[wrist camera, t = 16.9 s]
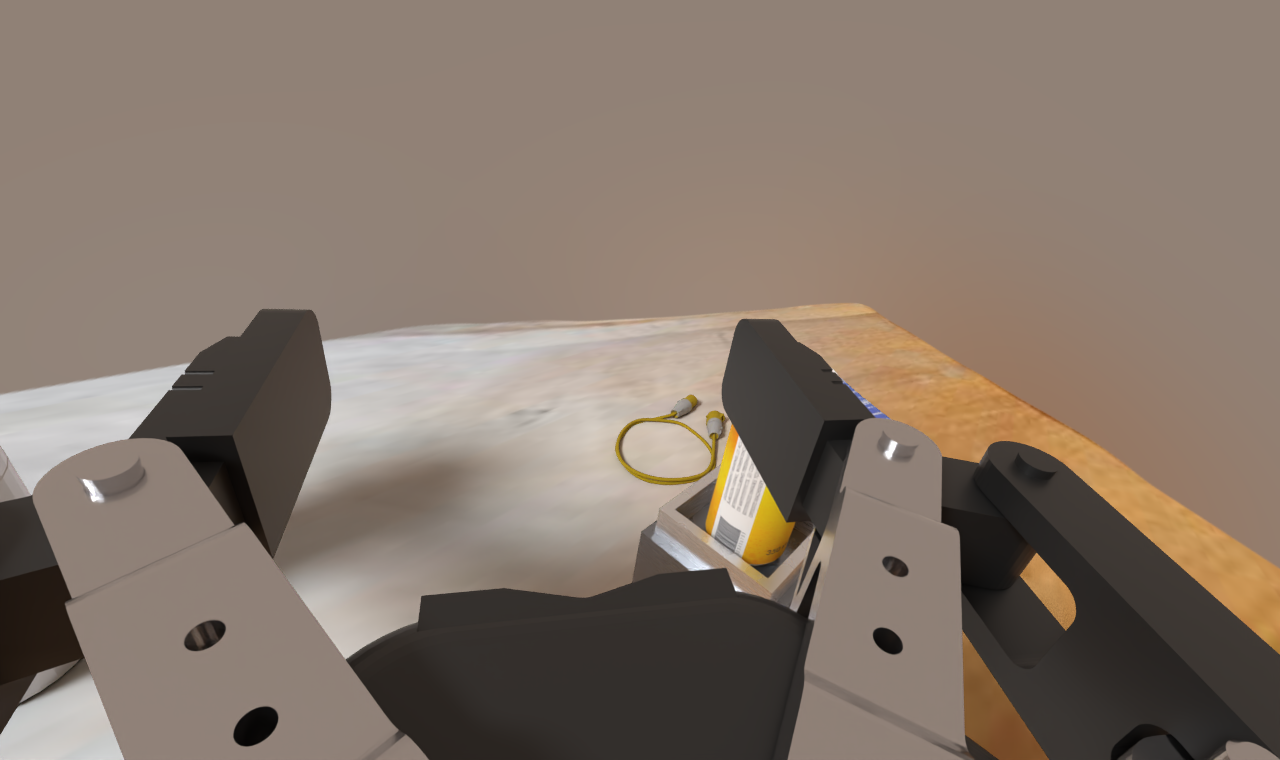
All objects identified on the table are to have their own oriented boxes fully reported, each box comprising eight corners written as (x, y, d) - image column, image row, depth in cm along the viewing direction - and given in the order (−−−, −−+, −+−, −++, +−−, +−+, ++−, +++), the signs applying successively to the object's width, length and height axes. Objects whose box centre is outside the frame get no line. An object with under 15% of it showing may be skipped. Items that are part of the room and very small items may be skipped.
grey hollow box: (629, 599, 47) (645, 507, 41) (709, 532, 54) (732, 446, 48) (786, 741, 39) (834, 651, 33) (855, 641, 46) (903, 553, 41)
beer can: (795, 537, 44) (861, 373, 36) (761, 587, 40) (827, 414, 32) (727, 498, 47) (773, 337, 39) (688, 541, 42) (731, 370, 34)
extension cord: (761, 457, 65) (766, 444, 64) (651, 504, 57) (653, 489, 56) (695, 401, 73) (697, 389, 72) (589, 435, 65) (590, 421, 64)
